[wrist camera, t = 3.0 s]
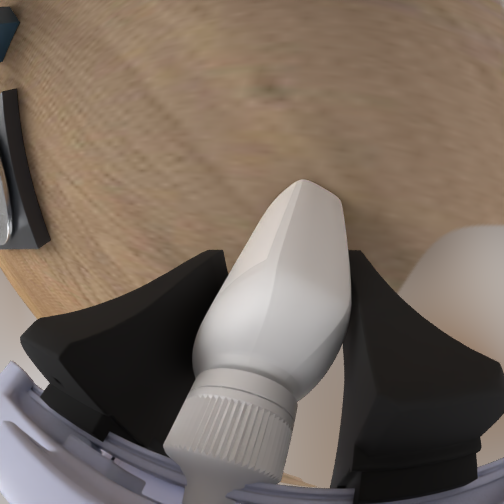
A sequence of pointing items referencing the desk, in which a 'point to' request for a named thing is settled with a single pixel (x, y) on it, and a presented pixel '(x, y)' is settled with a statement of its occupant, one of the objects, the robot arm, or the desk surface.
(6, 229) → the scale pan
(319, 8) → the desk surface
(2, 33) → the watch
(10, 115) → the scale
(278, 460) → the eye dropper bottle
